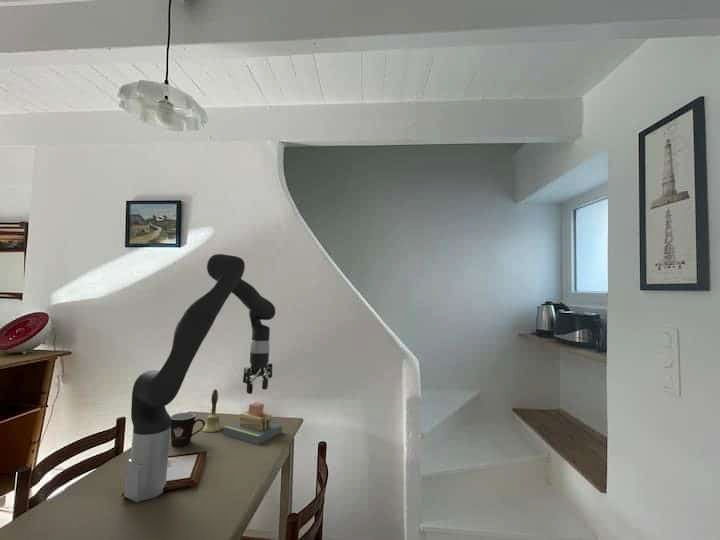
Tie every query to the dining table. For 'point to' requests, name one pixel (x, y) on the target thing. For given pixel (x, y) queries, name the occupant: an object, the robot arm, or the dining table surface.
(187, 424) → the coffee mug
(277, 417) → the dining table surface
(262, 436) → the dock
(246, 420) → the tan boxy piece
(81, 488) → the dining table surface
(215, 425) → the hand bell
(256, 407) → the block
